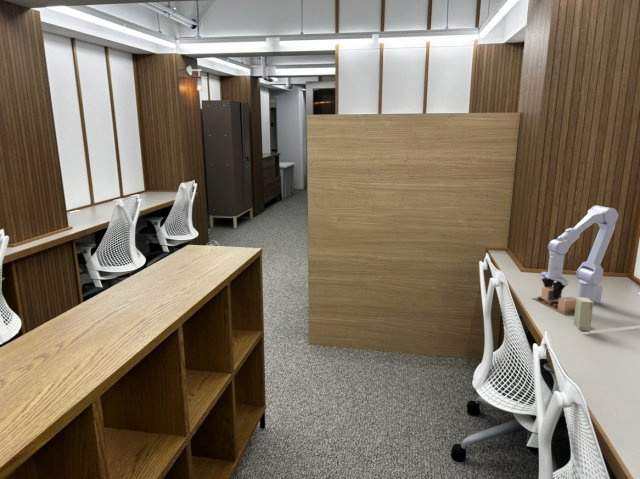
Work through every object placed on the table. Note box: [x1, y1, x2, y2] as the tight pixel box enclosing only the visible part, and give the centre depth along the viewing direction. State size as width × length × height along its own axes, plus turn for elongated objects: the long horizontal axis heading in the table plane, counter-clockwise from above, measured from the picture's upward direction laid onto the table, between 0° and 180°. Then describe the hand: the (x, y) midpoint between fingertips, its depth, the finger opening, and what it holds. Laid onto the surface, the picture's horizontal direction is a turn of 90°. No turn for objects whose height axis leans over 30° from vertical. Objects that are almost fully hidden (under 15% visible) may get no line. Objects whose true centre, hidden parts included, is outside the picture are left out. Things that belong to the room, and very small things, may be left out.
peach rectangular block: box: [540, 286, 563, 301], centre depth 211 cm, size 5×7×5 cm, turn 103°
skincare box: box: [573, 296, 594, 333], centre depth 183 cm, size 6×4×12 cm
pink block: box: [558, 296, 577, 312], centre depth 202 cm, size 7×5×5 cm, turn 104°
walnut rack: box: [531, 295, 575, 317], centre depth 207 cm, size 13×22×2 cm, turn 14°
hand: (552, 295), depth 211 cm, fingers closed on peach rectangular block, 5 cm apart
